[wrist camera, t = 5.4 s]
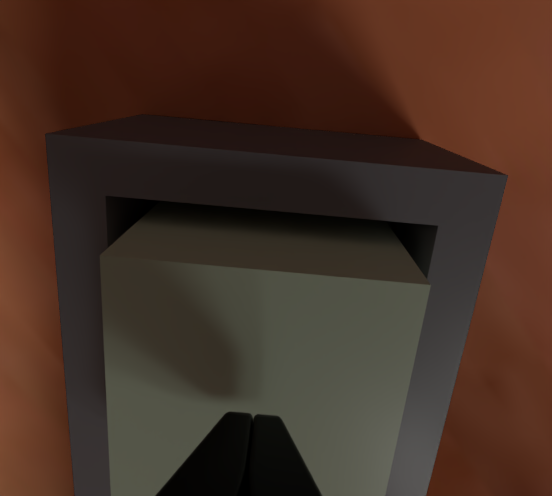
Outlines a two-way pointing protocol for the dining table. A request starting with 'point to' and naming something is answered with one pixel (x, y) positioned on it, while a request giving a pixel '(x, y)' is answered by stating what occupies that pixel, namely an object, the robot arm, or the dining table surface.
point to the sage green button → (258, 339)
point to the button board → (275, 197)
